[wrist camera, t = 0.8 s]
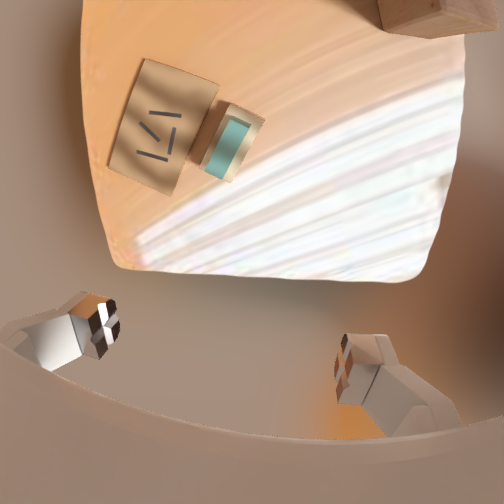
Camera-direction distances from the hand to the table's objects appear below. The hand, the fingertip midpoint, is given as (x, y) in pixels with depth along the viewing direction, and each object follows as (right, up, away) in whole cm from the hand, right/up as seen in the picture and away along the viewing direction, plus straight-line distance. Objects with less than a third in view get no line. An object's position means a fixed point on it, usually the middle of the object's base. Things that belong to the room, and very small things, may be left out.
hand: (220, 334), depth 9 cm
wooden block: (+26, +42, +19) cm, 53 cm away
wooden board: (-15, +24, +35) cm, 45 cm away
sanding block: (-2, +21, +36) cm, 42 cm away
